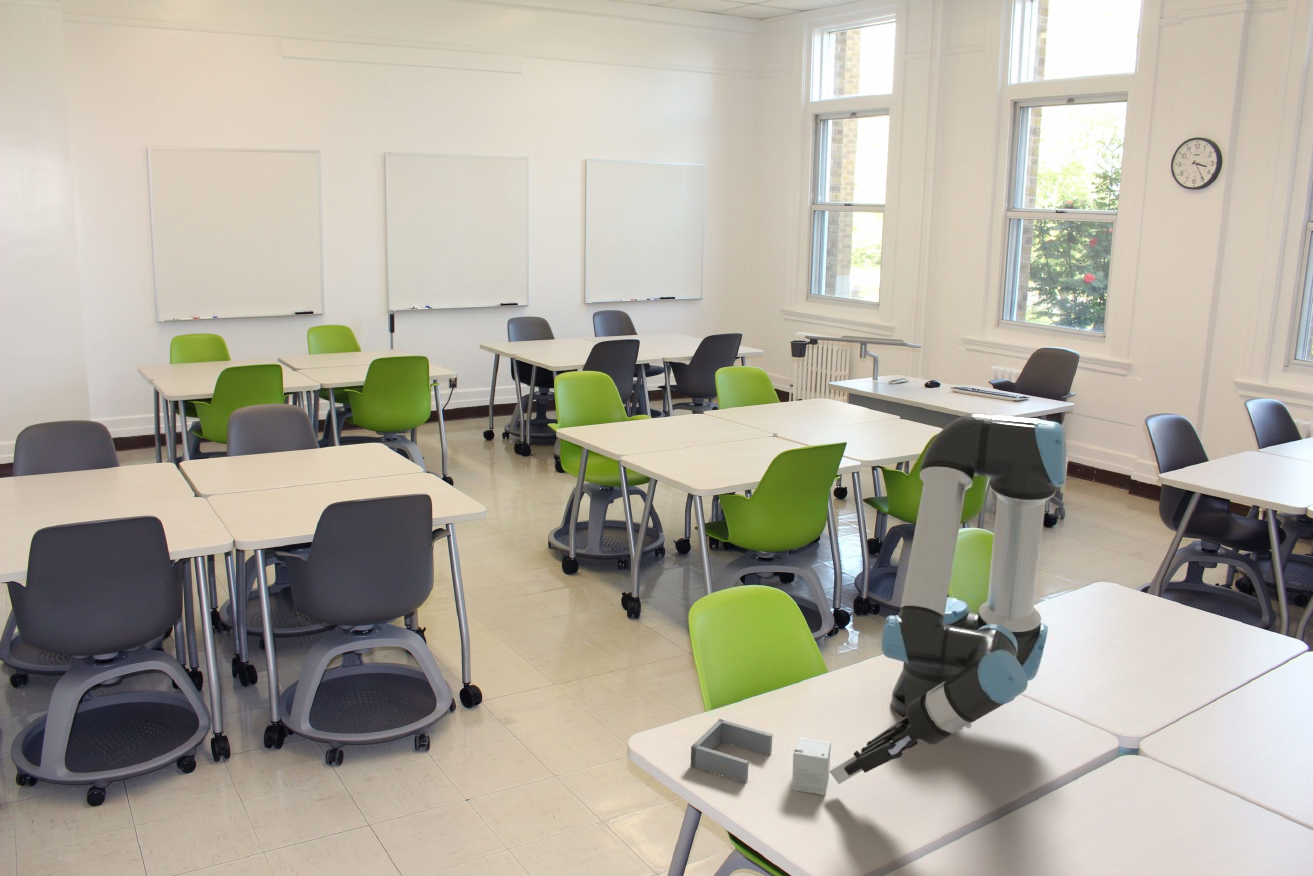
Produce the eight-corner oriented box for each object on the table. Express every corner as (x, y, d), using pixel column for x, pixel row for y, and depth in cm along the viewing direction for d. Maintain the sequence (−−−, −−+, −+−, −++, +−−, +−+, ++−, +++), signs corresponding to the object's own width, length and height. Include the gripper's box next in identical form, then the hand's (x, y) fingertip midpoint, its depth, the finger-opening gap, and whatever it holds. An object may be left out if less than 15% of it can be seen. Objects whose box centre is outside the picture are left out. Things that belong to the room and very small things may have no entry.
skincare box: (829, 778, 182) (831, 741, 181) (825, 796, 176) (828, 758, 175) (795, 772, 184) (798, 736, 182) (790, 790, 178) (793, 752, 176)
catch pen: (718, 737, 195) (719, 719, 194) (771, 753, 190) (772, 734, 189) (690, 766, 185) (691, 746, 184) (745, 783, 180) (746, 763, 179)
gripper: (944, 750, 160) (836, 812, 171) (962, 716, 171) (860, 776, 182) (913, 711, 161) (808, 775, 172) (934, 679, 172) (834, 742, 184)
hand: (835, 776), depth 177 cm, fingers closed
